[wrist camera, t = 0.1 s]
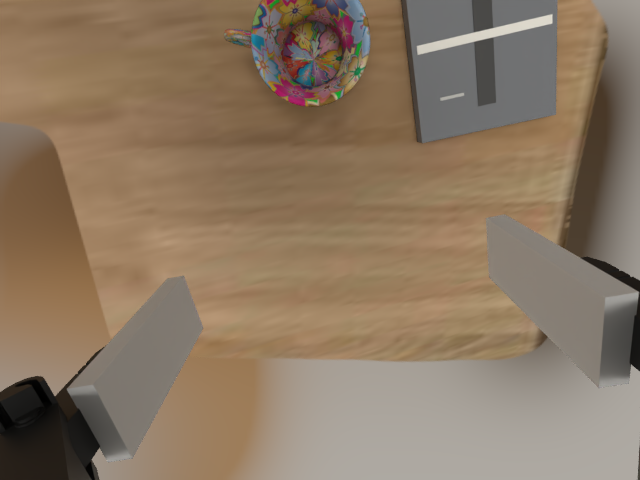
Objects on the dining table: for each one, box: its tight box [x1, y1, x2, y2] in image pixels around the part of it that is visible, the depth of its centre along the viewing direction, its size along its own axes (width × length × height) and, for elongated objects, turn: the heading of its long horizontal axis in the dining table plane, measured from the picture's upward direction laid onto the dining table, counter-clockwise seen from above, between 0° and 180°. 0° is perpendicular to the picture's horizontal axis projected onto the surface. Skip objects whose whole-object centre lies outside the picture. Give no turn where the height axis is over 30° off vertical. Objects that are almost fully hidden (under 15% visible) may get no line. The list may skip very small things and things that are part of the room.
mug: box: [224, 0, 370, 107], centre depth 33 cm, size 12×9×11 cm
